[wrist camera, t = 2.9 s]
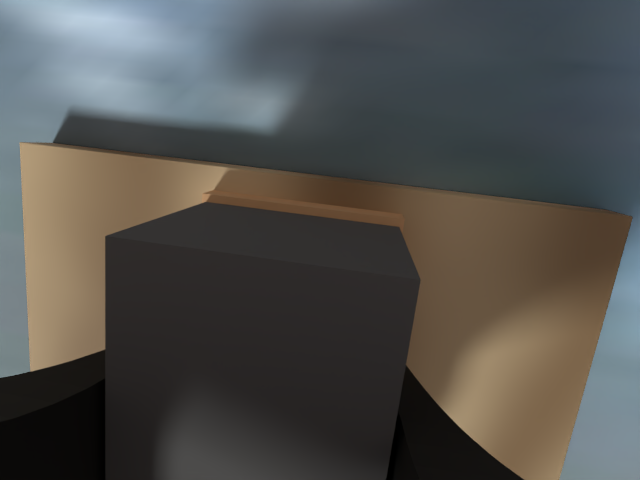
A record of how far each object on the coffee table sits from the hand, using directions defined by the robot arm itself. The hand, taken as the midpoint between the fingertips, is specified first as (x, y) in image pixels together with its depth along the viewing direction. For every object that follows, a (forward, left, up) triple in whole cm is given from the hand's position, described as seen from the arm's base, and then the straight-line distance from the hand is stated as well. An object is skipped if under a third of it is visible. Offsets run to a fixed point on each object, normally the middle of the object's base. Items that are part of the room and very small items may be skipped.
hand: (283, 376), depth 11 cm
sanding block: (0, 0, -1) cm, 1 cm away
